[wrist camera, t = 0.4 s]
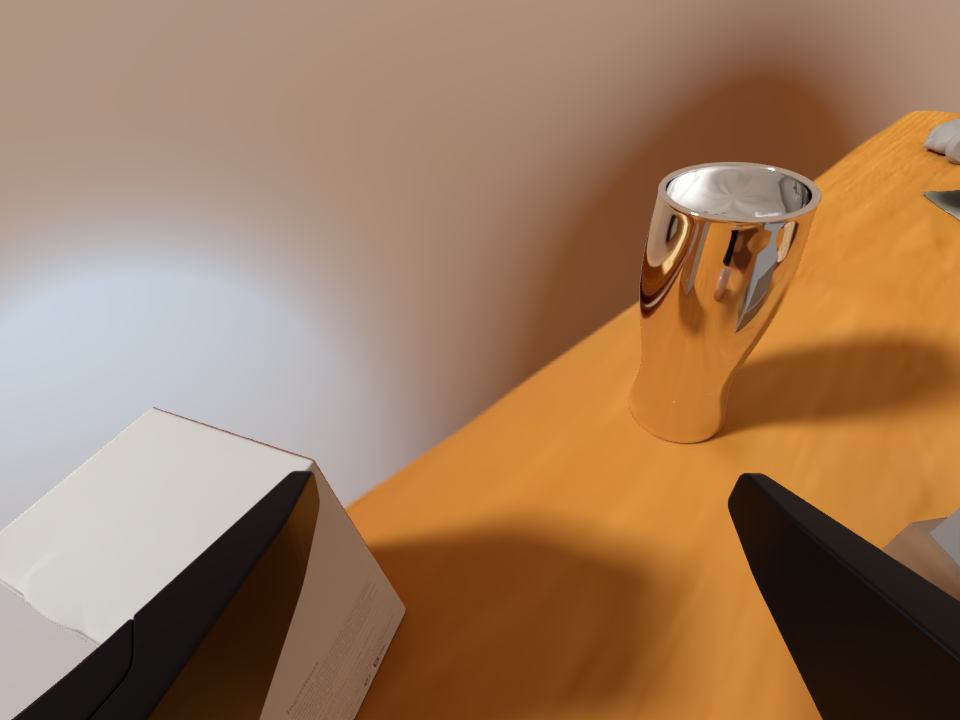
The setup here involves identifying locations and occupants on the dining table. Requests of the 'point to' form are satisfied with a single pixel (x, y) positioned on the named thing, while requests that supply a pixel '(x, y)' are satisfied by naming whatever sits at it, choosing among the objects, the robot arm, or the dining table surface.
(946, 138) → the pale two-lobed sculpture
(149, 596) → the small box
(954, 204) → the condiment
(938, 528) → the grey top block
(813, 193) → the beer glass
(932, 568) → the walnut base block
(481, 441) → the dining table surface
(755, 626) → the dining table surface
